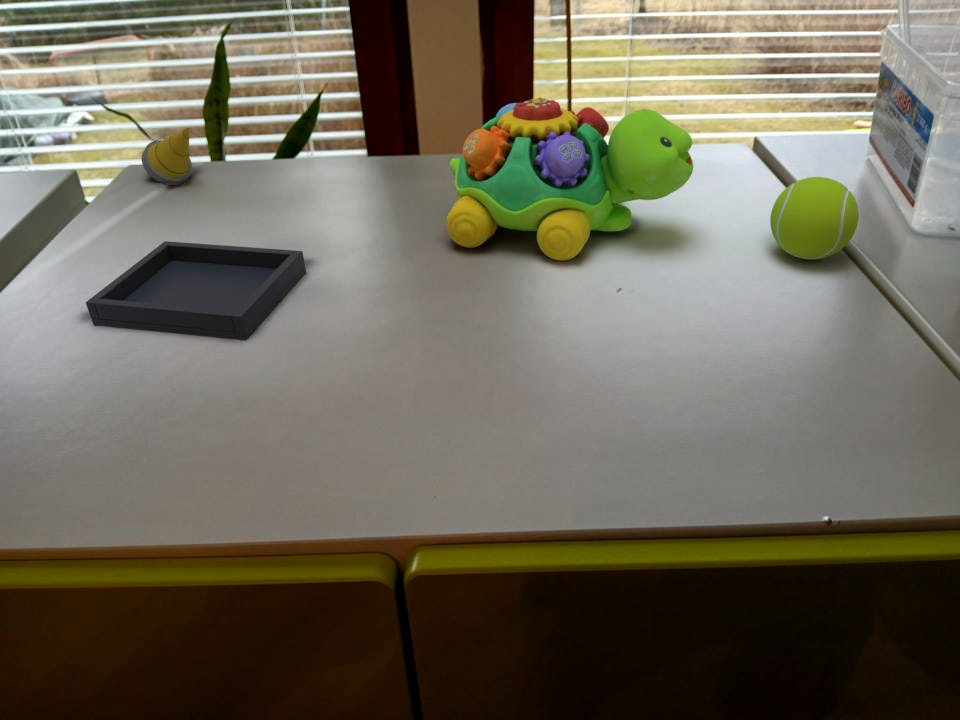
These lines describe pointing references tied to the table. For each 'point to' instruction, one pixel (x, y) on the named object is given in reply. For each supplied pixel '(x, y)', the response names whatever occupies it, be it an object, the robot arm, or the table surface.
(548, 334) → the table surface
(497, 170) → the turtle toy
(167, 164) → the yellow spinning top
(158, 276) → the black tray
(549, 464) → the table surface
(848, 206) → the tennis ball
